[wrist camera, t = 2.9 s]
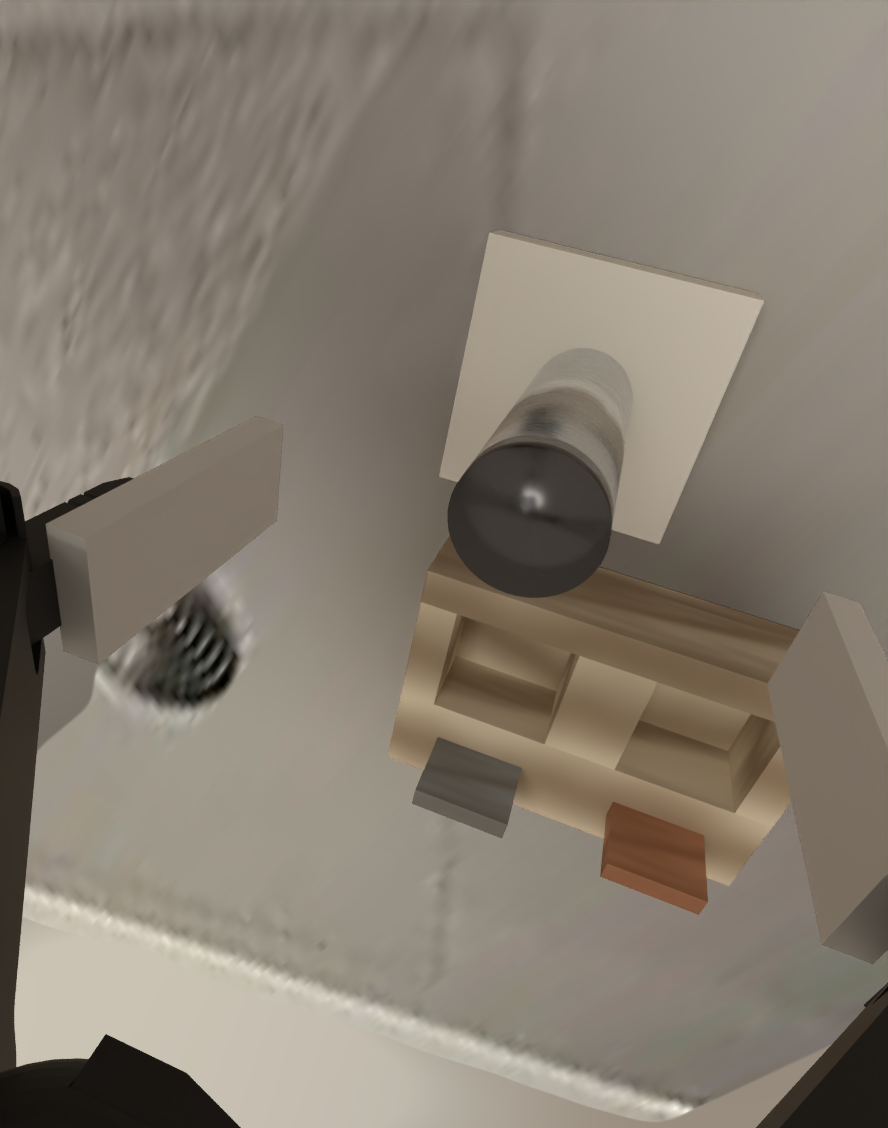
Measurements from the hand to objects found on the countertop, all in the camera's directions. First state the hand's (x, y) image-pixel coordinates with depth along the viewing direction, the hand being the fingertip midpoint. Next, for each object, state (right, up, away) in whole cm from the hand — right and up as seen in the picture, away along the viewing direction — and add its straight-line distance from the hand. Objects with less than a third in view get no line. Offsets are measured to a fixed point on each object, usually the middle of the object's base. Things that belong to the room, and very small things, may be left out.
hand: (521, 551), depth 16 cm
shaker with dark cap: (+4, +6, +10) cm, 13 cm away
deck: (+4, +7, +12) cm, 15 cm away
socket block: (+6, -6, +19) cm, 20 cm away
